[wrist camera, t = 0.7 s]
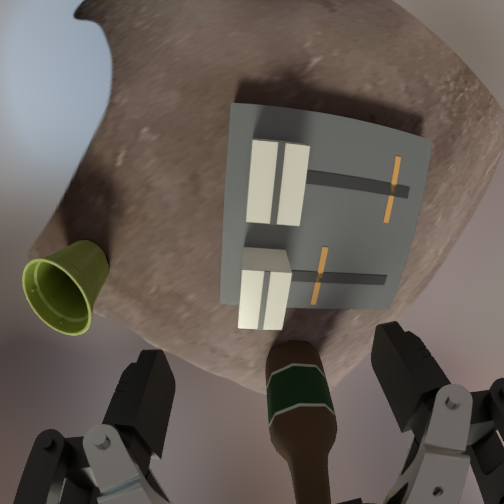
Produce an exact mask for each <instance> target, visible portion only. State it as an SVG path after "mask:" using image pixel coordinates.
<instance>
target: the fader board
mask: <svg viewBox="0 0 504 504" xmlns="http://www.w3.org/2000/svg"><path fill="white" fill-rule="evenodd" d="M252 138H258V139H269V140H279V141H288V142H296V143H301V144H304V145H308V146H310V151H309V160H308V168H307V176H306V183H305V191H304V198H303V206H302V213H301V220H300V226H292V225H280V224H277V225H270V224H267V223H254V222H246V203H247V191H248V179H249V166H250V154H251V143H252ZM431 148H432V140H429V139H426V138H423V137H420V136H417V135H414V134H410V133H407V132H404V131H400V130H397V129H393V128H389V127H386V126H382V125H378V124H374V123H370V122H365V121H361V120H356V119H352V118H347V117H342V116H337V115H331V114H326V113H320V112H314V111H308V110H301V109H293V108H286V107H277V106H267V105H256V104H243V103H231V110H230V123H229V136H228V149H227V164H226V180H225V196H224V215H223V235H222V258H221V286H220V304H229V305H239V295H240V282H241V268H242V255H243V247H252V248H266V249H280V250H286V253H287V257H288V260H289V264H290V267H291V271H292V277H291V283H290V288H289V294H288V300H287V305H286V308H310V309H390V306H391V304H392V301H393V298H394V295H395V293H396V290H397V287H398V284H399V281H400V278H401V275H402V272H403V269H404V266H405V263H406V260H407V256H408V253H409V250H410V246H411V243H412V239H413V235H414V232H415V228H416V224H417V220H418V216H419V212H420V208H421V203H422V199H423V194H424V189H425V184H426V179H427V173H428V168H429V162H430V155H431Z"/></svg>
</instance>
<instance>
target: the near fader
mask: <svg viewBox="0 0 504 504" xmlns="http://www.w3.org/2000/svg"><path fill="white" fill-rule="evenodd" d="M309 151H310V146H308V145H304V144H301V143H296V142H288V141H279V140H269V139H258V138H252V143H251V154H250V166H249V179H248V191H247V203H246V222H254V223H267V224H270V225H277V224H280V225H292V226H300V220H301V213H302V206H303V198H304V191H305V183H306V176H307V168H308V160H309Z"/></svg>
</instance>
